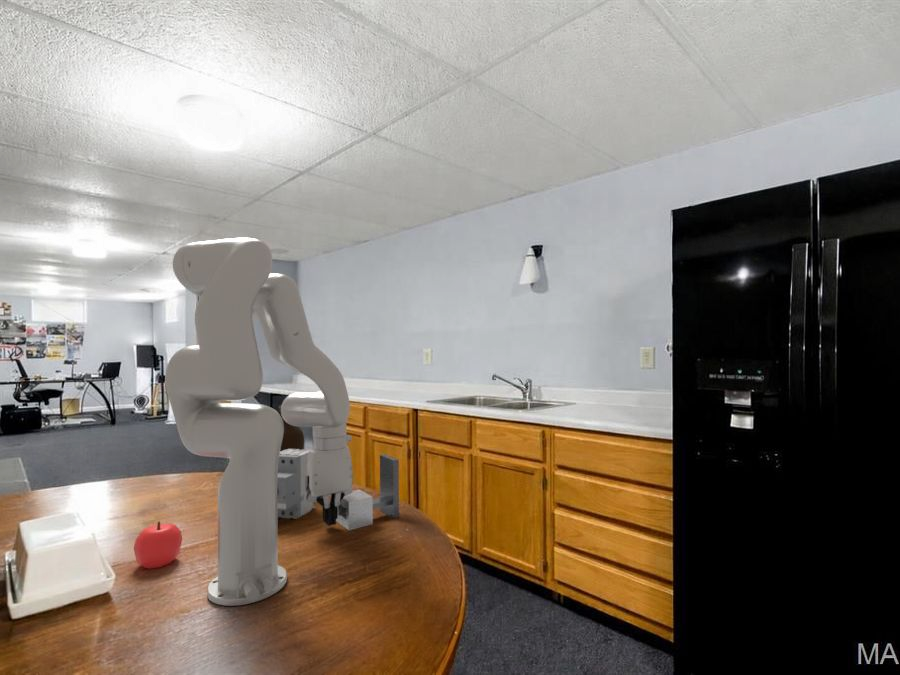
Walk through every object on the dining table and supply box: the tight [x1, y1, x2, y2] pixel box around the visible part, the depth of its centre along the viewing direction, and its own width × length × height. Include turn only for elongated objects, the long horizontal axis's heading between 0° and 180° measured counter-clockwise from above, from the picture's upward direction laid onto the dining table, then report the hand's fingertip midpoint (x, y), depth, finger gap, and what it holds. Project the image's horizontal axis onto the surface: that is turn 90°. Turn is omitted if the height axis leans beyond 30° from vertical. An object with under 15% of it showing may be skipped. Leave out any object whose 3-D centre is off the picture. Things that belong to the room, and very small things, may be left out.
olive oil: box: [277, 405, 305, 452], centre depth 130 cm, size 11×11×25 cm
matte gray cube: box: [336, 488, 374, 531], centre depth 108 cm, size 7×6×6 cm
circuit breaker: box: [277, 448, 315, 520], centre depth 112 cm, size 8×14×15 cm, turn 166°
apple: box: [133, 520, 183, 570], centre depth 88 cm, size 8×8×8 cm
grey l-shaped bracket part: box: [373, 454, 400, 519], centre depth 111 cm, size 7×9×14 cm
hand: (329, 523), depth 104 cm, fingers closed
